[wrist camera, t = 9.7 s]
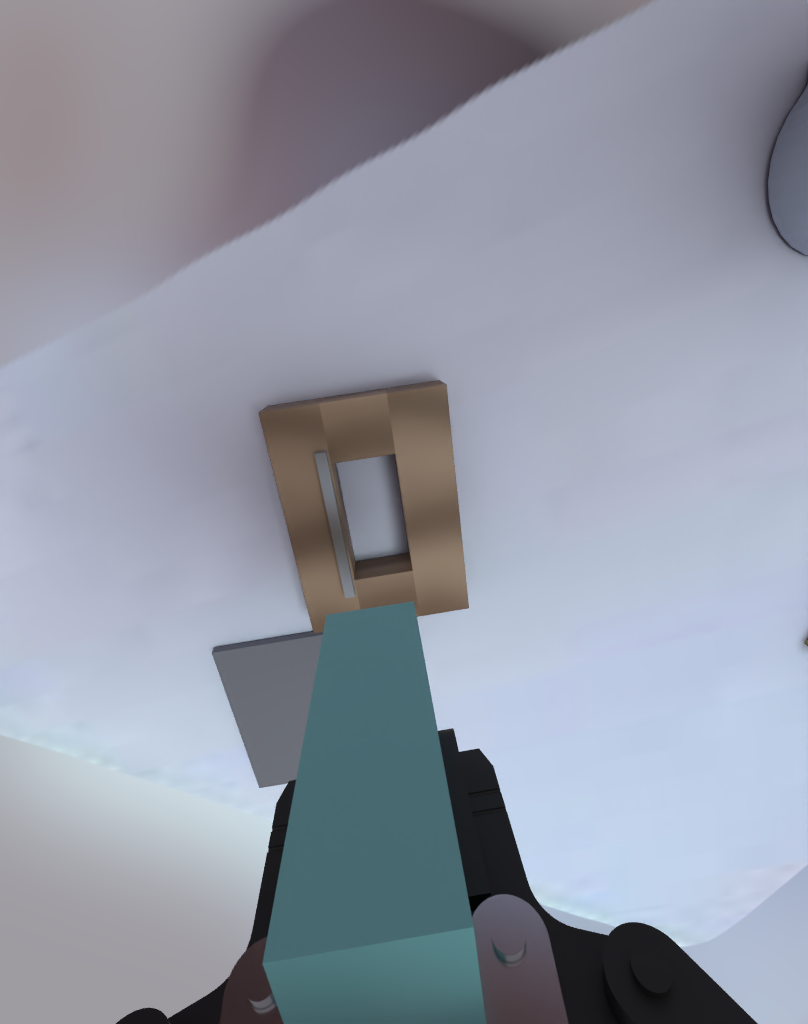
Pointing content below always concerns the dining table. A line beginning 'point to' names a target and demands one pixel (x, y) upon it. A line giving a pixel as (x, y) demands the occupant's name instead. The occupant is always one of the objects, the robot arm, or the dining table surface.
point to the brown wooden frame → (320, 507)
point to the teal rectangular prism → (372, 845)
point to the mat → (271, 699)
